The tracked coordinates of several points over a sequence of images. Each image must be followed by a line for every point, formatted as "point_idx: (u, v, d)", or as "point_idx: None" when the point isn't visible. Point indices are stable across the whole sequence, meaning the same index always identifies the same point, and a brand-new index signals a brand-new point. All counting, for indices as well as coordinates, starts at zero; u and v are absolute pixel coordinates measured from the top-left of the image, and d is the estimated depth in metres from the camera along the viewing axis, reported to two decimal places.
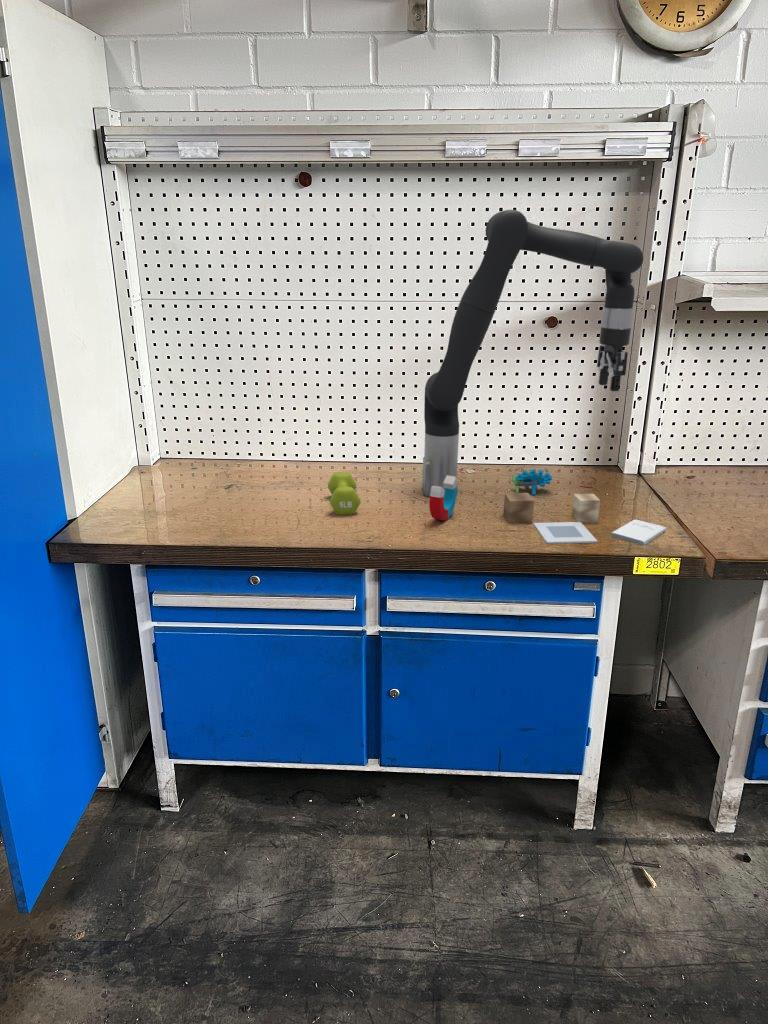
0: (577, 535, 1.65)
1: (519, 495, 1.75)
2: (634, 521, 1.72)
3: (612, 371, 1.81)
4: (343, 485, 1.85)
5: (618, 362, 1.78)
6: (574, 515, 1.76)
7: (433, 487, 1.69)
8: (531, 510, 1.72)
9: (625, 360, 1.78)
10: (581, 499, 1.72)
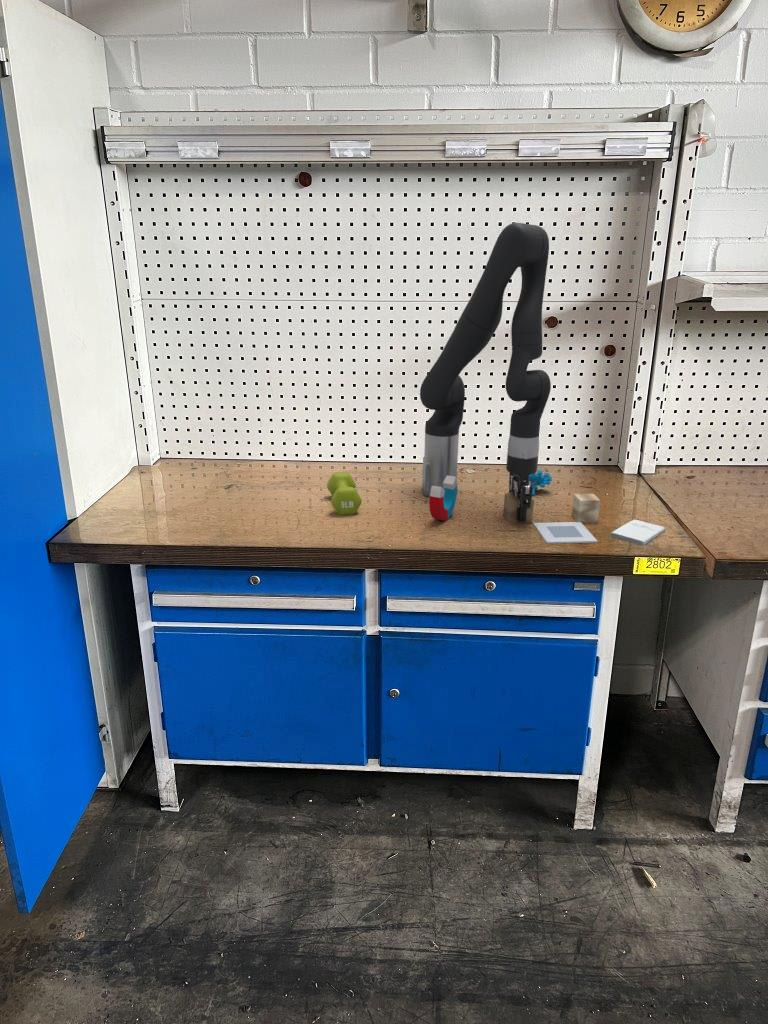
0: (577, 535, 1.65)
1: None
2: (633, 521, 1.72)
3: (518, 502, 1.71)
4: (343, 485, 1.85)
5: (522, 496, 1.67)
6: (574, 515, 1.76)
7: (433, 487, 1.69)
8: (531, 510, 1.72)
9: (530, 494, 1.67)
10: (581, 499, 1.72)
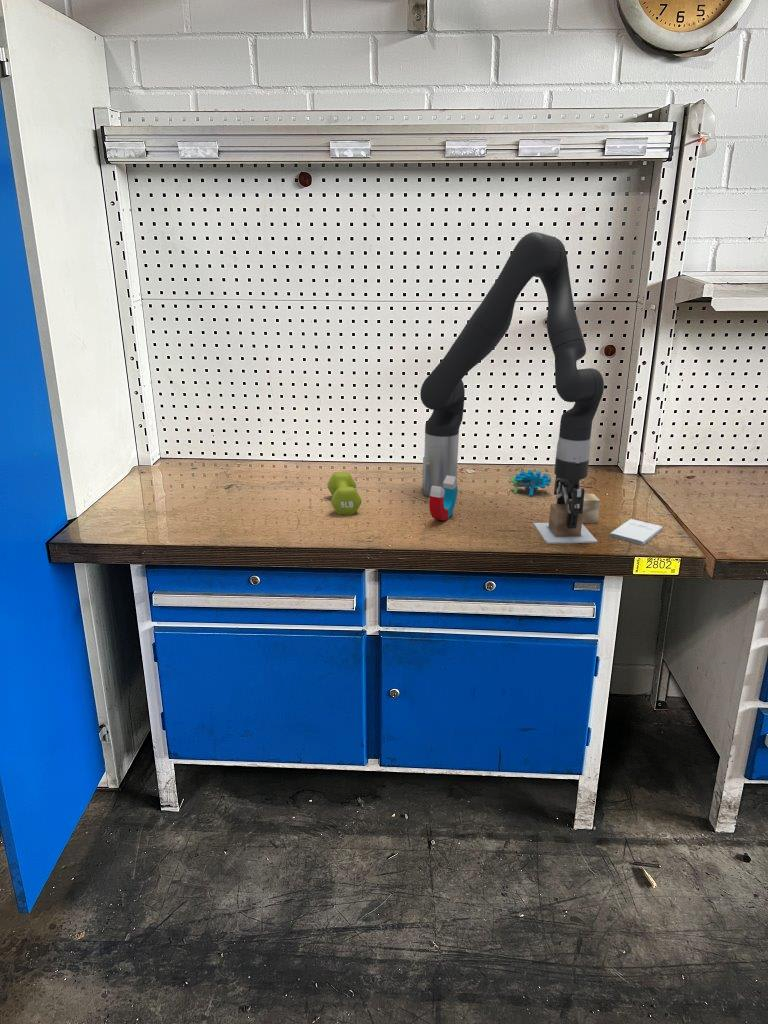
0: None
1: None
2: (630, 521, 1.72)
3: (568, 507, 1.60)
4: (343, 485, 1.85)
5: (574, 500, 1.57)
6: None
7: (433, 487, 1.69)
8: (579, 522, 1.63)
9: (582, 498, 1.57)
10: None
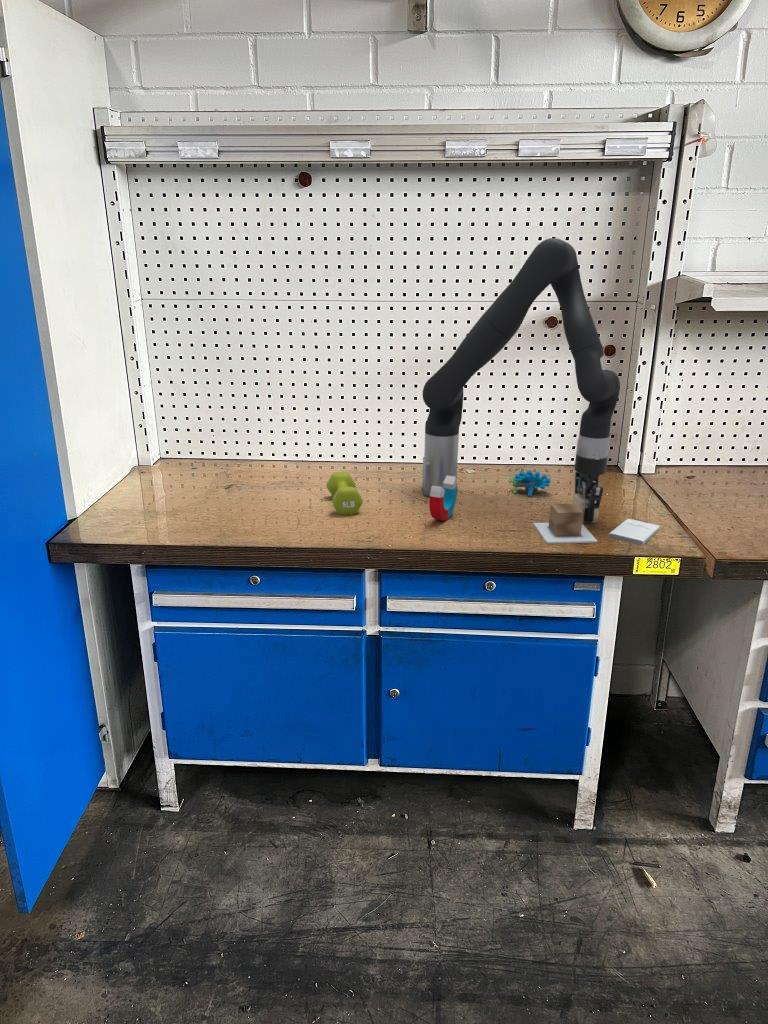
0: None
1: (567, 506, 1.66)
2: (628, 520, 1.73)
3: (586, 502, 1.71)
4: (343, 485, 1.85)
5: (592, 497, 1.67)
6: None
7: (433, 487, 1.69)
8: (579, 522, 1.63)
9: (600, 496, 1.67)
10: (581, 499, 1.72)
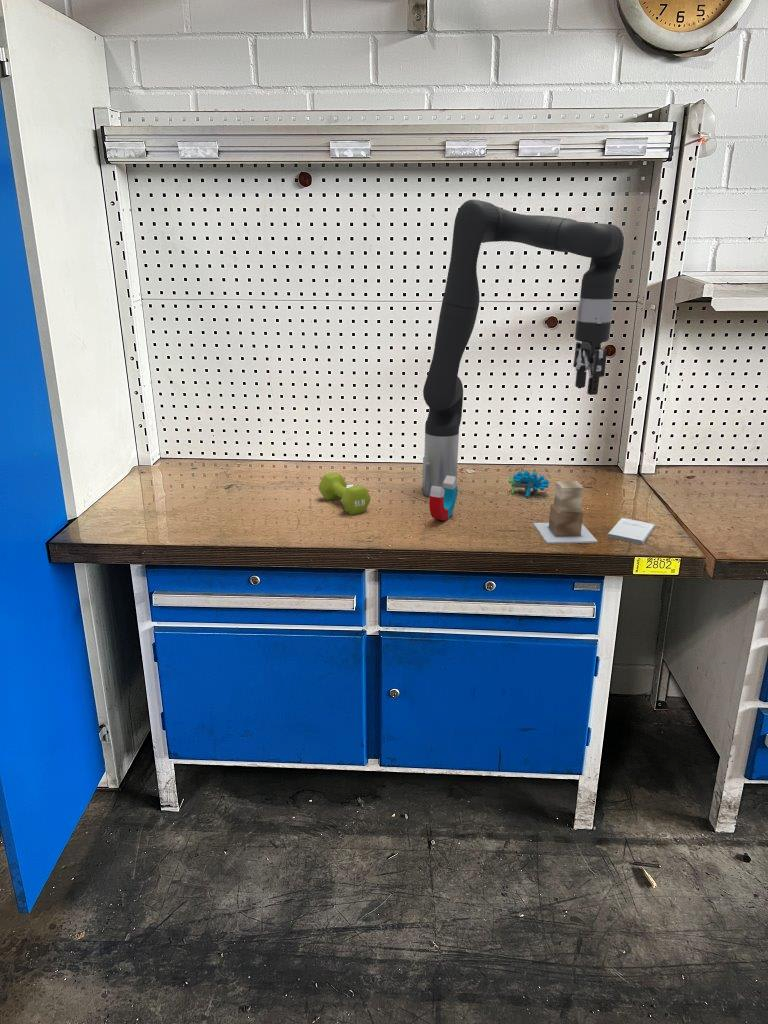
0: None
1: None
2: (623, 520, 1.73)
3: (589, 372, 1.56)
4: (340, 485, 1.84)
5: (596, 361, 1.53)
6: (556, 503, 1.65)
7: (433, 487, 1.69)
8: (579, 522, 1.63)
9: (604, 359, 1.53)
10: (563, 486, 1.61)
